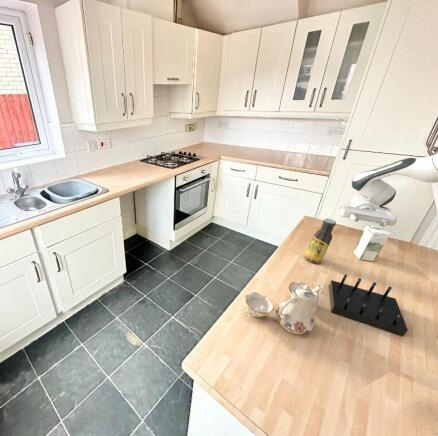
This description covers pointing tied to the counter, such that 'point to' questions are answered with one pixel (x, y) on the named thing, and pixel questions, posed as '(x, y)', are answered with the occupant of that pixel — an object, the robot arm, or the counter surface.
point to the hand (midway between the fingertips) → (369, 222)
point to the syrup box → (371, 243)
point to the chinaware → (288, 308)
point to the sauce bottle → (320, 242)
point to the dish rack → (367, 306)
